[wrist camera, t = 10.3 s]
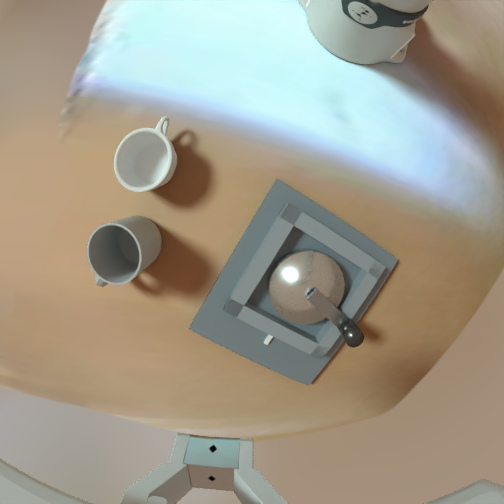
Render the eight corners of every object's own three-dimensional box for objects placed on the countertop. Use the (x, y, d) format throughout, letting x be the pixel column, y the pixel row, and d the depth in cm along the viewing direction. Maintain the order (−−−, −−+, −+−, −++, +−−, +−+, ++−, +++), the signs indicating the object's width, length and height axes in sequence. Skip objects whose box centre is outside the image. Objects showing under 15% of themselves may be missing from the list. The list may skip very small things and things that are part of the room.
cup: (173, 238, 40) (153, 251, 31) (133, 289, 41) (109, 312, 32) (135, 204, 39) (107, 209, 30) (98, 257, 40) (67, 273, 31)
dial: (252, 286, 40) (253, 303, 34) (305, 232, 38) (316, 240, 32) (322, 347, 42) (332, 369, 36) (370, 300, 41) (388, 316, 35)
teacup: (168, 199, 39) (157, 201, 33) (121, 180, 38) (104, 179, 33) (198, 131, 37) (190, 122, 32) (149, 114, 36) (135, 104, 31)
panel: (276, 179, 38) (279, 178, 35) (394, 257, 41) (405, 263, 38) (190, 325, 42) (186, 335, 39) (307, 381, 45) (311, 393, 42)
